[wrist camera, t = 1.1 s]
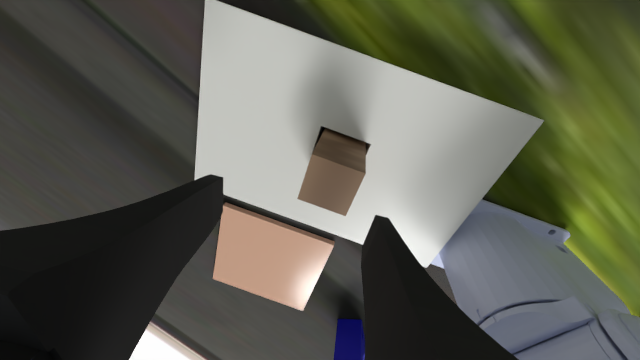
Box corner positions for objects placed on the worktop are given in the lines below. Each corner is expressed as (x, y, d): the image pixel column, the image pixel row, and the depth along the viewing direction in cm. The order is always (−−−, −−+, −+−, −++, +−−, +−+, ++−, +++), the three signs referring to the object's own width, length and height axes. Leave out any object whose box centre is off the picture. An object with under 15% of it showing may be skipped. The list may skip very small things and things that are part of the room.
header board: (521, 111, 17) (544, 120, 15) (421, 247, 24) (426, 267, 22) (225, 3, 17) (205, -4, 15) (209, 171, 24) (194, 183, 22)
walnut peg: (365, 135, 20) (365, 173, 14) (351, 168, 21) (345, 216, 15) (328, 122, 20) (311, 154, 14) (316, 156, 21) (297, 198, 15)
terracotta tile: (334, 241, 25) (334, 245, 25) (303, 306, 31) (302, 311, 31) (225, 202, 25) (222, 205, 25) (215, 274, 31) (212, 278, 31)
